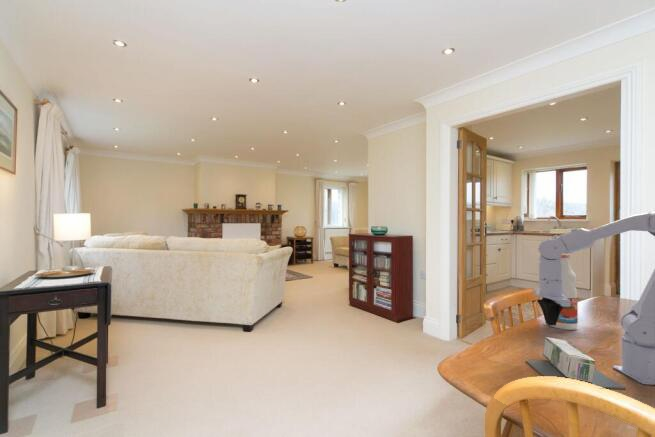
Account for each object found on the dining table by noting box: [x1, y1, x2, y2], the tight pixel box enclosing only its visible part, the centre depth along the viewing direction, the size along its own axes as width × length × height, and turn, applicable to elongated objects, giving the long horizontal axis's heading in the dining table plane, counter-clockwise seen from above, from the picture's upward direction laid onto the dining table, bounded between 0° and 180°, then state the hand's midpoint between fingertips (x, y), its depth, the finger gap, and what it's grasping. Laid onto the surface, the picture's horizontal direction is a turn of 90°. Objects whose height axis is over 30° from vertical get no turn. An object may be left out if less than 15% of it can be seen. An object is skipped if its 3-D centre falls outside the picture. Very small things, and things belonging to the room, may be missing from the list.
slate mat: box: [525, 359, 626, 390], centre depth 85 cm, size 14×16×1 cm
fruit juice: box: [549, 253, 579, 331], centre depth 124 cm, size 9×9×28 cm
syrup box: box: [542, 336, 596, 382], centre depth 87 cm, size 6×6×14 cm
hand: (550, 324), depth 95 cm, fingers closed
